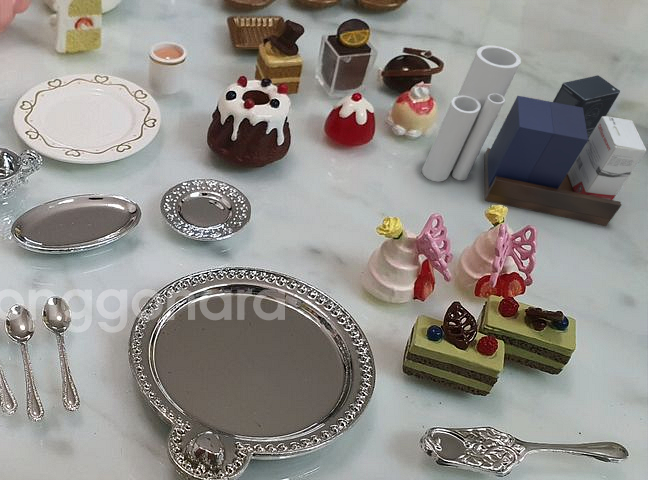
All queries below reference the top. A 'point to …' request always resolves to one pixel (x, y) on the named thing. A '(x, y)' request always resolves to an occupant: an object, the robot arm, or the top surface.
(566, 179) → the shelf
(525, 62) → the top surface
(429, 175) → the vase
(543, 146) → the matching cartons
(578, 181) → the ink box
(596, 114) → the box
